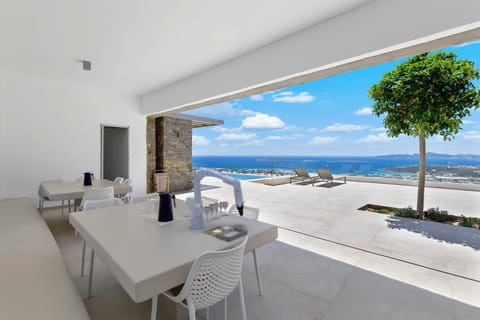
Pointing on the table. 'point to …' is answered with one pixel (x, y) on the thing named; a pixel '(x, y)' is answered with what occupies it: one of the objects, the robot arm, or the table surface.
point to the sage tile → (226, 229)
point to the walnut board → (210, 231)
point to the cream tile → (217, 232)
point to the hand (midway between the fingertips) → (241, 214)
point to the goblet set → (215, 207)
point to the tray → (228, 239)
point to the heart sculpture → (191, 204)
